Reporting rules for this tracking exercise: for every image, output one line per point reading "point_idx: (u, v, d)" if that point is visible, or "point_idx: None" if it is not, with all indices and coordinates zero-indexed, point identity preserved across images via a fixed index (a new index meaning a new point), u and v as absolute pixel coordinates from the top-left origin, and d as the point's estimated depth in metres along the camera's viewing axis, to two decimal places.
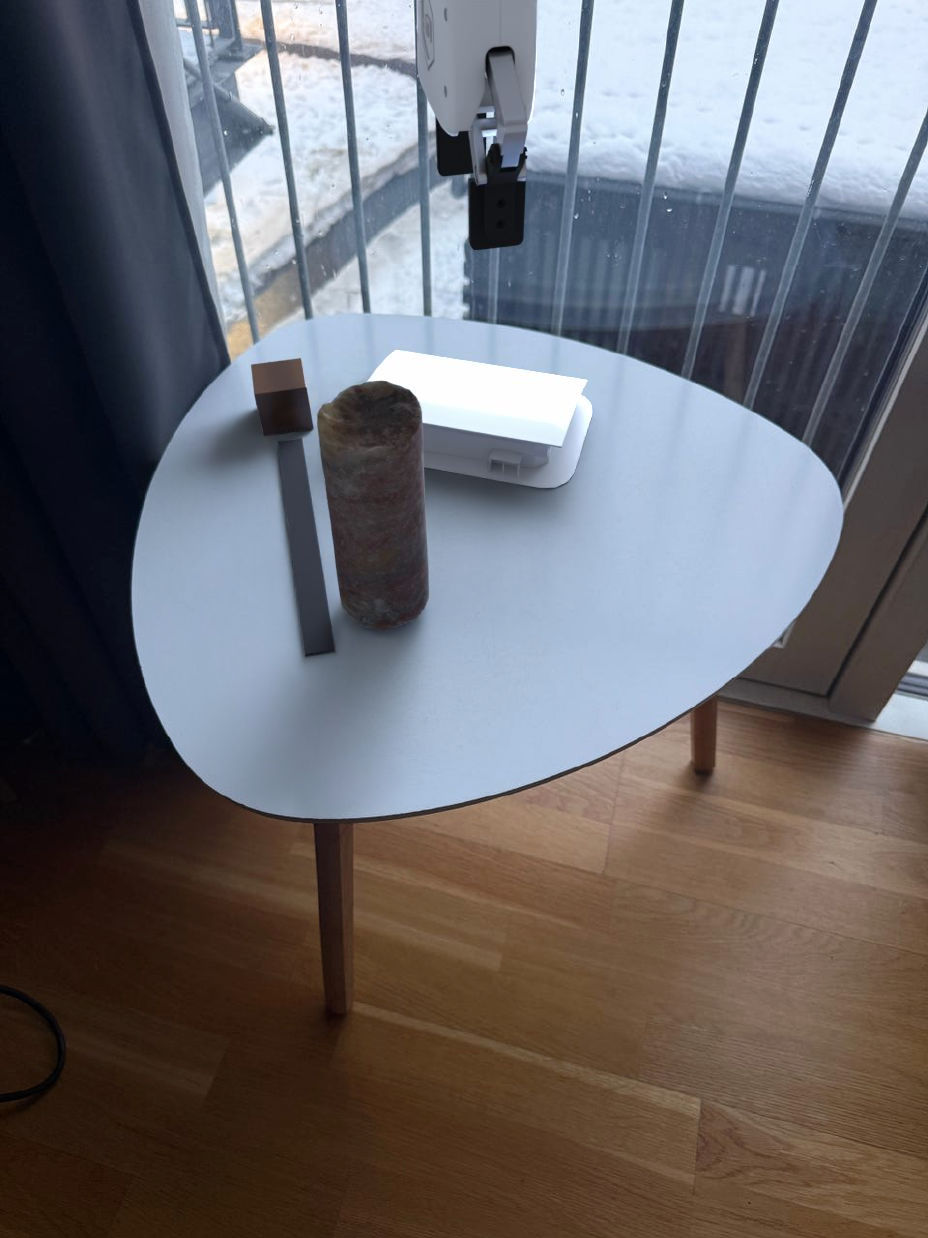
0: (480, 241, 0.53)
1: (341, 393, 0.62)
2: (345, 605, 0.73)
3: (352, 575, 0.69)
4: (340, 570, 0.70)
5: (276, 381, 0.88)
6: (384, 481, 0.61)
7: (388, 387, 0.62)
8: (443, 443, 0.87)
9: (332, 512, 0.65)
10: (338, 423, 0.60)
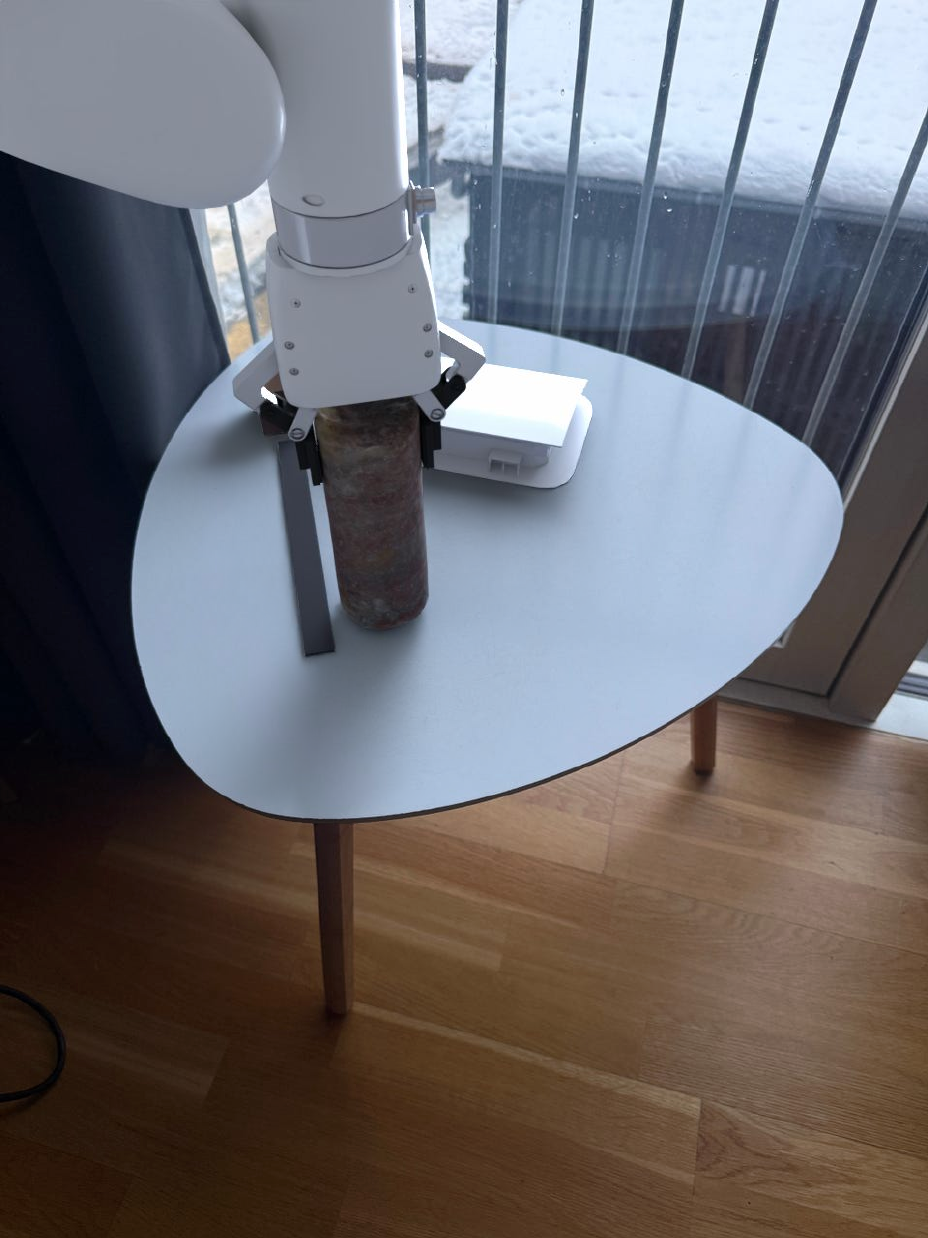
0: None
1: None
2: (345, 605, 0.73)
3: (351, 575, 0.69)
4: (339, 570, 0.70)
5: (276, 381, 0.88)
6: (381, 480, 0.61)
7: None
8: (443, 443, 0.87)
9: (330, 512, 0.65)
10: (336, 423, 0.60)
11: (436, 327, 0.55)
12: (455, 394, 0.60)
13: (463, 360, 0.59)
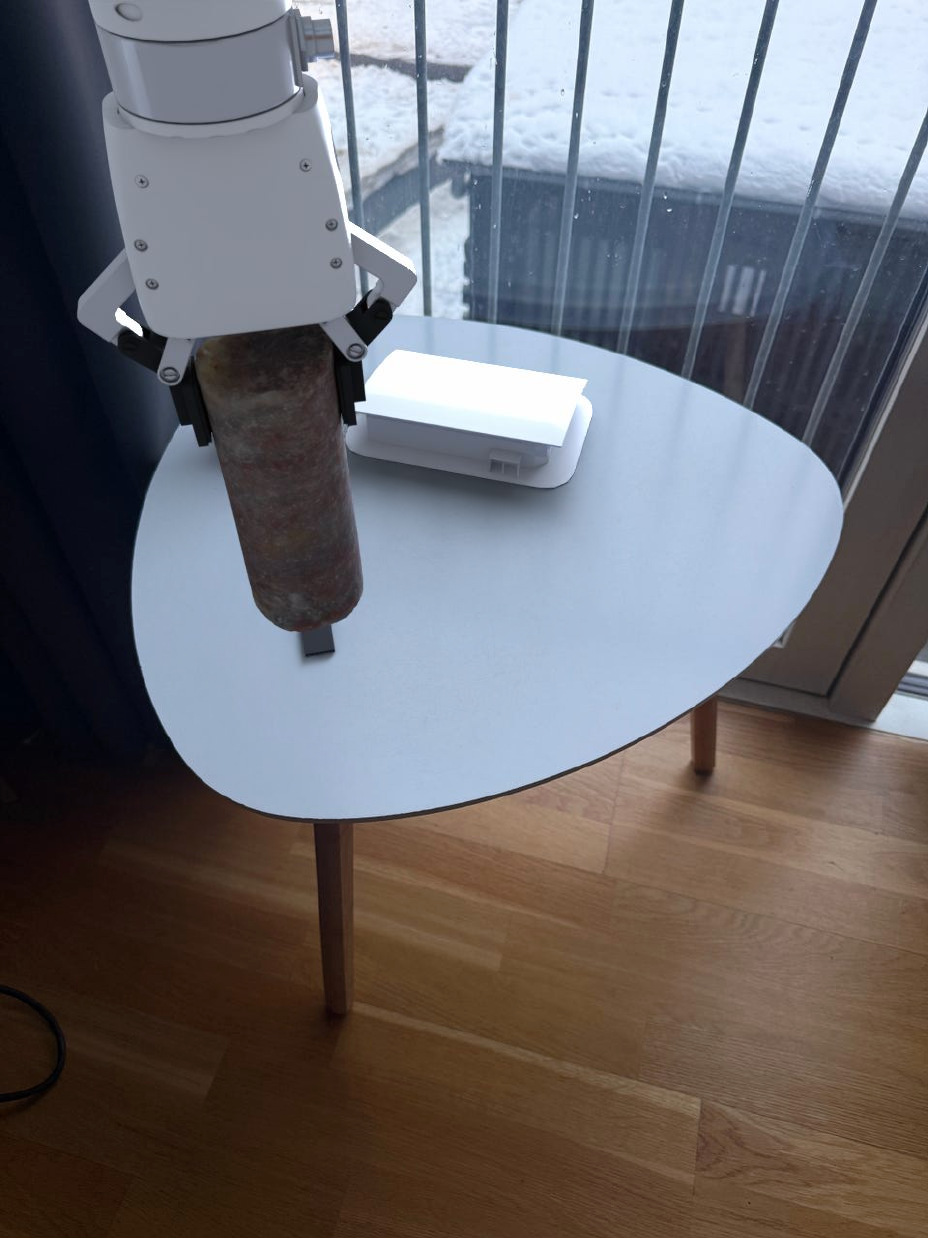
0: None
1: None
2: (257, 602, 0.59)
3: (258, 563, 0.54)
4: (245, 557, 0.55)
5: None
6: (284, 438, 0.46)
7: None
8: (443, 443, 0.87)
9: (226, 482, 0.51)
10: (223, 363, 0.46)
11: (344, 225, 0.41)
12: (379, 325, 0.46)
13: (387, 277, 0.44)
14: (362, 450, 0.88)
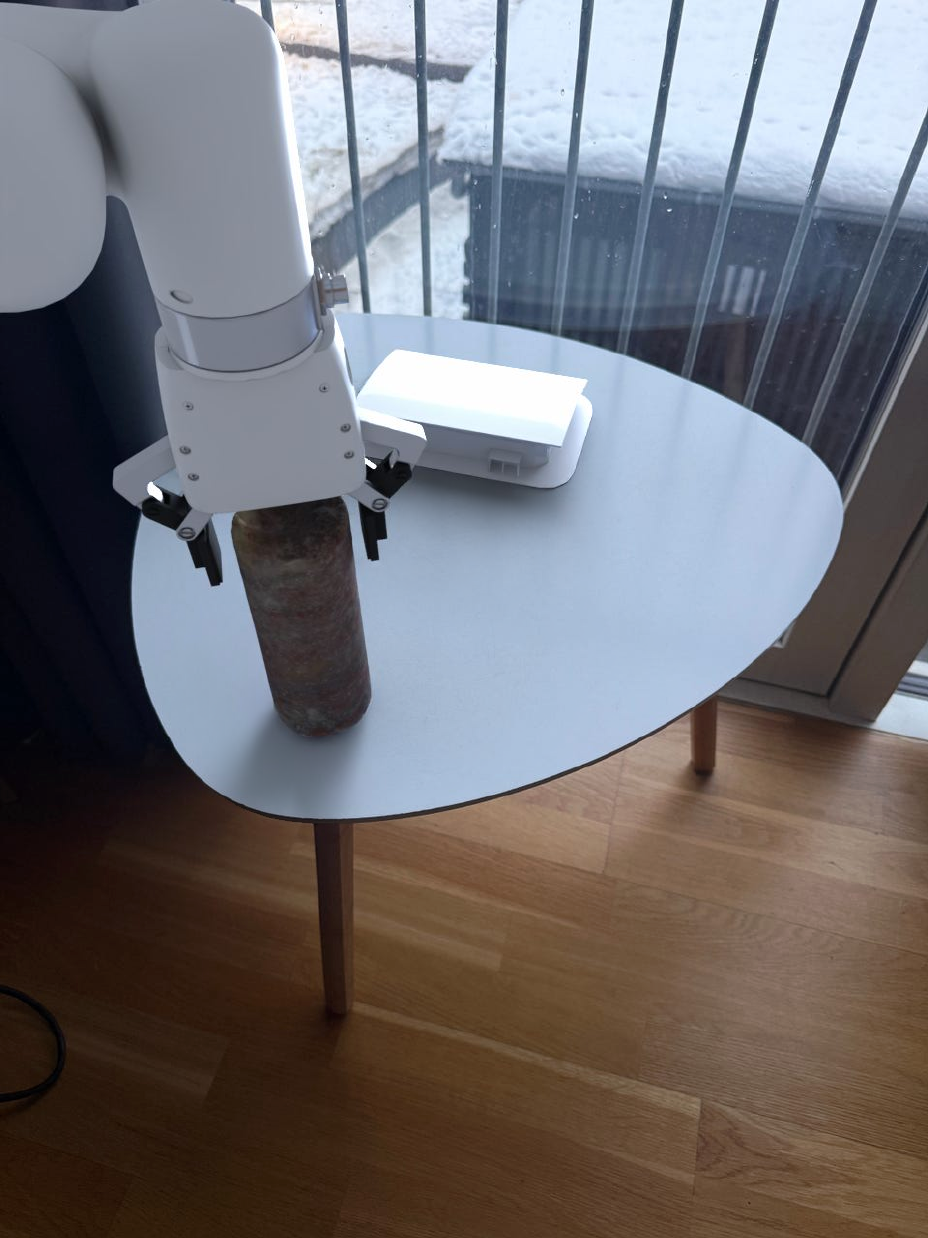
0: None
1: None
2: (278, 710, 0.66)
3: (281, 684, 0.62)
4: (269, 677, 0.63)
5: None
6: (306, 594, 0.54)
7: None
8: (443, 443, 0.87)
9: (254, 621, 0.59)
10: (255, 531, 0.54)
11: (356, 426, 0.48)
12: (400, 482, 0.53)
13: (401, 446, 0.51)
14: None
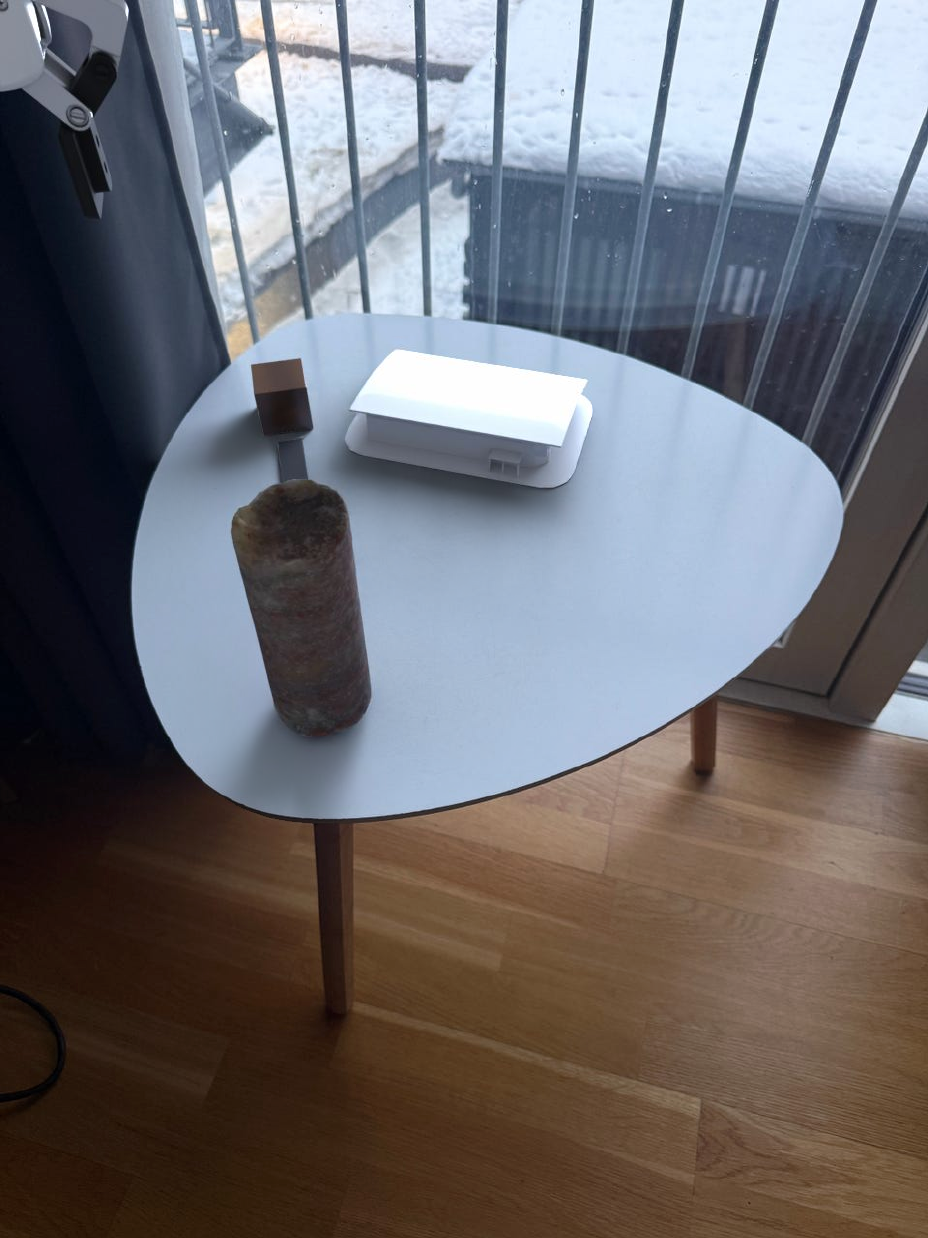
0: None
1: (260, 494, 0.56)
2: (278, 710, 0.66)
3: (281, 684, 0.62)
4: (269, 677, 0.63)
5: (276, 381, 0.88)
6: (306, 594, 0.54)
7: (313, 488, 0.56)
8: (443, 443, 0.87)
9: (254, 621, 0.59)
10: (255, 531, 0.54)
11: None
12: (102, 84, 0.40)
13: (90, 19, 0.38)
14: (362, 449, 0.88)
